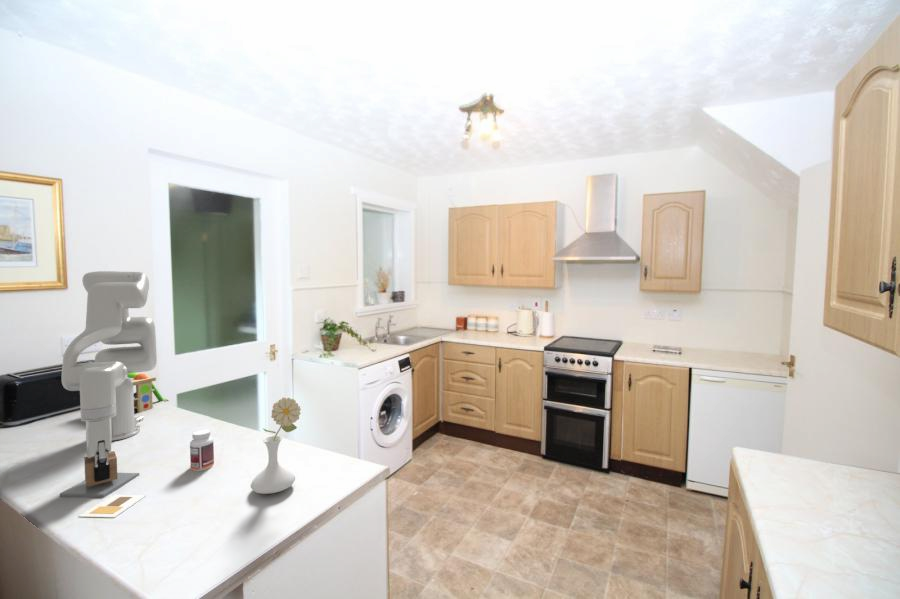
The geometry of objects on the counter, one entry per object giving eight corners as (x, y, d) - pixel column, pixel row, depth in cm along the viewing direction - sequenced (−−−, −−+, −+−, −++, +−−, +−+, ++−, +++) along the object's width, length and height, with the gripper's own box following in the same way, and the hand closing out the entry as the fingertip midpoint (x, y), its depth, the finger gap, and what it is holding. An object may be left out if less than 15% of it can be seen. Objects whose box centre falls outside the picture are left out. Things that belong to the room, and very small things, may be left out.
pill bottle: (214, 461, 131) (214, 427, 130) (213, 469, 125) (212, 433, 125) (191, 465, 128) (191, 430, 128) (189, 473, 123) (188, 437, 122)
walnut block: (85, 478, 115) (84, 457, 115) (114, 471, 120) (114, 450, 120) (86, 487, 111) (85, 465, 110) (117, 479, 115) (116, 457, 115)
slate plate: (99, 475, 122) (99, 472, 122) (139, 475, 121) (139, 473, 121) (59, 496, 110) (59, 493, 110) (104, 497, 109) (104, 494, 109)
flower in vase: (249, 502, 107) (248, 407, 106) (251, 482, 118) (250, 395, 117) (303, 492, 113) (301, 401, 111) (300, 473, 123) (299, 390, 122)
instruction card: (112, 495, 110) (112, 494, 110) (146, 496, 110) (146, 495, 110) (78, 516, 100) (78, 516, 100) (114, 517, 100) (114, 516, 100)
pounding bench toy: (157, 404, 191) (155, 365, 190) (178, 407, 185) (177, 368, 184) (99, 419, 169) (97, 376, 168) (121, 424, 164) (119, 379, 163)
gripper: (79, 407, 118) (81, 469, 119) (82, 423, 106) (84, 491, 106) (113, 402, 123) (115, 461, 124) (119, 416, 111) (121, 482, 112)
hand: (101, 474), depth 115 cm, fingers closed on walnut block, 6 cm apart
